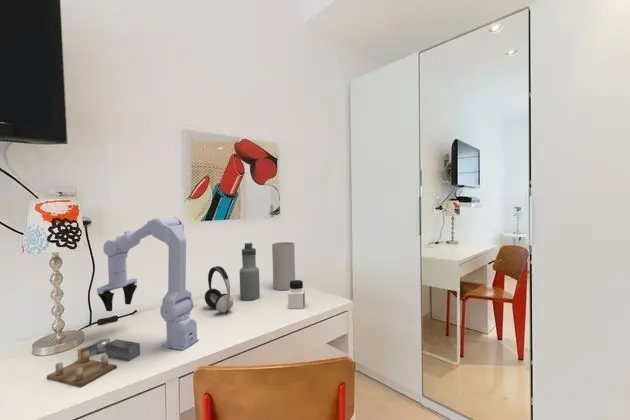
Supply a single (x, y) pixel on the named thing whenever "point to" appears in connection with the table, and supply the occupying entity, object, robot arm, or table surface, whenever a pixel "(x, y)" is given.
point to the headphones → (218, 292)
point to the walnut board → (87, 372)
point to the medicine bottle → (296, 295)
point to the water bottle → (249, 274)
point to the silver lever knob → (94, 348)
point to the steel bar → (123, 350)
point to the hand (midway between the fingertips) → (118, 307)
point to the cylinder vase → (283, 265)
